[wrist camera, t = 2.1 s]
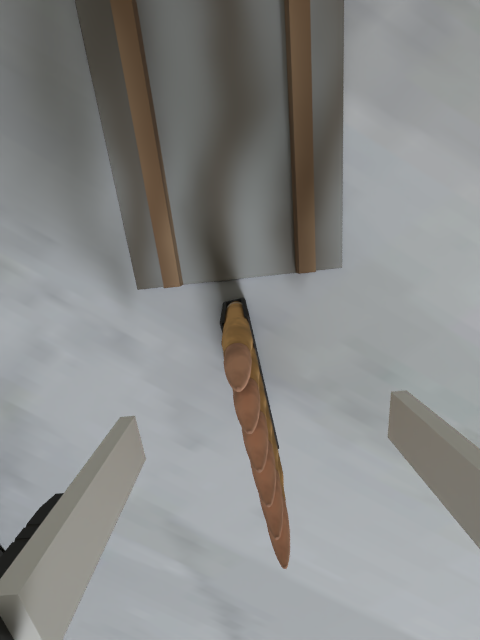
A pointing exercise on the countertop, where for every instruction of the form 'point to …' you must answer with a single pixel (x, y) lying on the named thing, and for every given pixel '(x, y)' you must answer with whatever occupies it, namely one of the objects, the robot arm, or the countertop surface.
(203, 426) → the countertop surface
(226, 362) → the ammunition clip
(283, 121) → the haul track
